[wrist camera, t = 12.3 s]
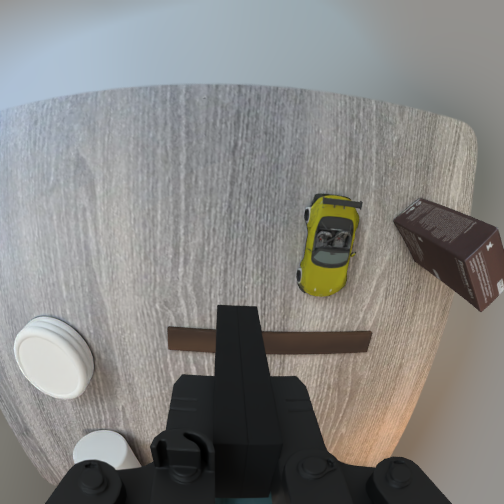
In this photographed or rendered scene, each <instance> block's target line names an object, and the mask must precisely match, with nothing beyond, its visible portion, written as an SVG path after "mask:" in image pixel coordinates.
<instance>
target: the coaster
mask: <svg viewBox="0 0 504 504" xmlns="http://www.w3.org/2000/svg"><path fill="white" fill-rule="evenodd" d="M14 354H15V358H16V361H17V363H18V366H19V368H20V370H21V371H22V373H23V374H24V376H25V377H26V378H27V379H28V380H29V382H30V383H32V384H33V385H34V386H35V387H36V388H37V389H39V390H40V391H42V392H43V393H45V394H47V395H49V396H52V397H55V398H59V399H66V400H67V399H74V398H77V397H78V396H80V395H81V394H82V393H83V392H84V391H85V389H86V387H87V385H88V383H89V381H90V379H91V377H92V375H93V370H94V362H93V357H92V354H91V351H90V349H89V347H88V345H87V344H86V342H85V341H84V339H83V338H82V337H81V336H80V335H79V334H78V333H77V331H75V330H74V329H73V328H72V327H70V326H69V325H68V324H66V323H64V322H62V321H60V320H58V319H55V318H51V317H38V318H35V319H33V320H31V321H30V322H29V323H28V324H27V325H26V326H25V327H24V328H23V329H22V330H21V331H20V332H19V333H18V335H17V336H16V339H15V342H14Z"/></svg>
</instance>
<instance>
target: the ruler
mask: <svg viewBox="0 0 504 504" xmlns="http://www.w3.org/2000/svg"><path fill="white" fill-rule="evenodd" d="M167 330H168V349H169V350H181V351H195V352H212V353H215V350H216V330H213V329H196V328H181V327H168V329H167ZM262 336H263V341H264V346H265V352H266V354H335V353H357V352H367V350H368V346H369V343H370V339H371V336H372V332H371V331H353V332H264V331H262Z"/></svg>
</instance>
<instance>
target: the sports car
mask: <svg viewBox="0 0 504 504" xmlns="http://www.w3.org/2000/svg"><path fill="white" fill-rule="evenodd" d="M362 203H363V202H362V201H360V202H354V201H351V199H350V198H347V197H344V196H338V195H330V194H316V195H315V197H314V200H313V203H312V207H307V208H306V210H305V215H304V218H305V222H306V223H308V224H307V230H308V235H307V241H306V248H305V254H304V259H303V260H302V262H301V264H300V266H301V268H299V269H298V271H297V281H298V286H299V288H300V289H301V290H302V291H303V292H304V293H308V294H310V295H313V296H320V297H323V296H330V295H332V294H334V293H336V292H338V291H339V290H341V289H342V288H343V287H344V286H345V284H346V281H347V269H348V265H349V260H350V256H351V257H353V256H354V255H355V254H356V252H353V253H351V251H352V246H353V241H354V238H355V231H356V229H357V227H358V224H359V215H358V213H357V211H356V209H355V208H360V210H361V207H362Z"/></svg>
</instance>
